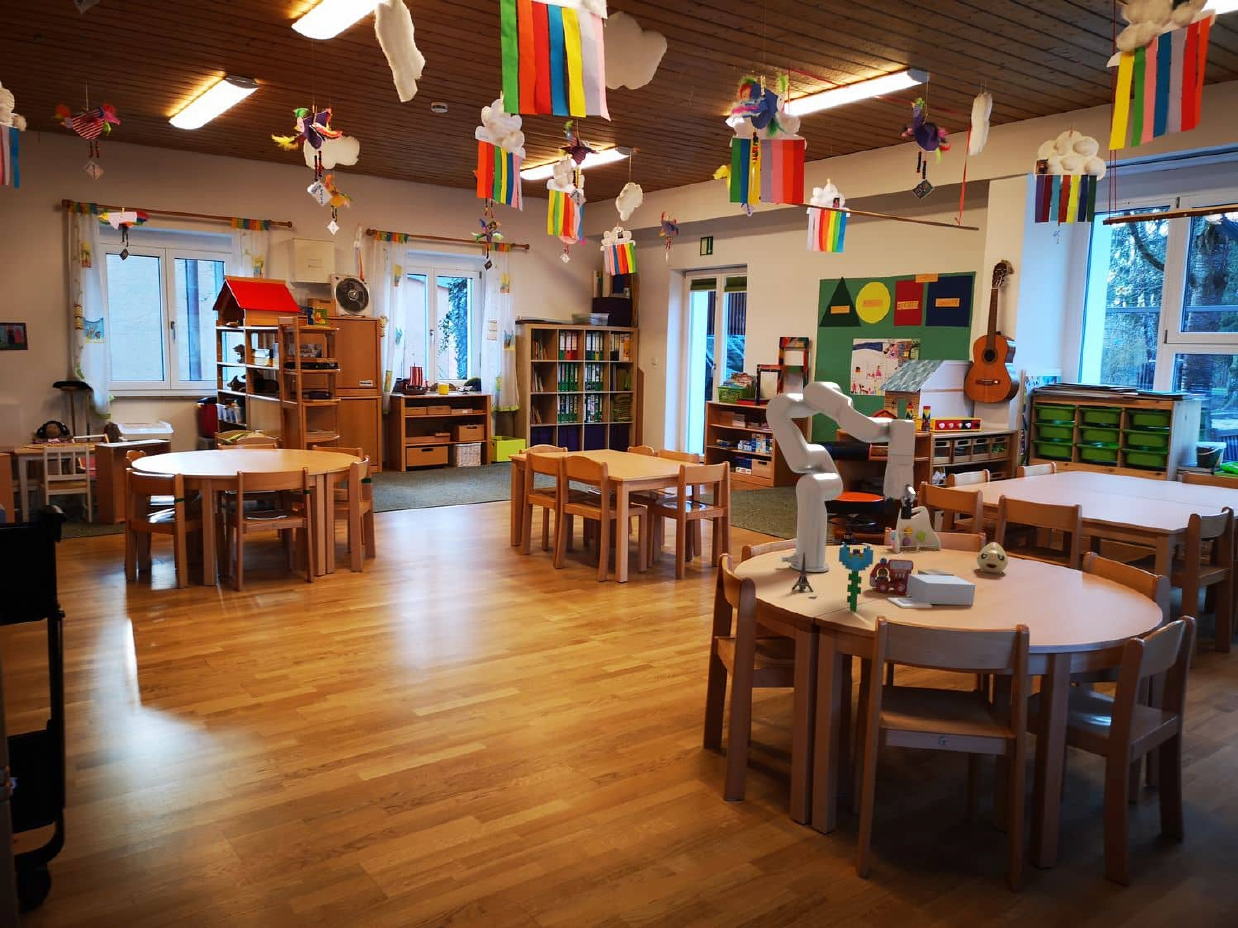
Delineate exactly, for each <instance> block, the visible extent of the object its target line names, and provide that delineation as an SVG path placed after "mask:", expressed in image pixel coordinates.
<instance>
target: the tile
mask: <svg viewBox="0 0 1238 928" xmlns="http://www.w3.org/2000/svg"><path fill="white" fill-rule="evenodd" d="M887 601H888V602H891V603H892V604H894V605H896V606H898V607H899V608H902V609H919V608H920V609H927V608H930V609H931V608H933V604H925V603H923V602H921V601H919V600H917V599H915V598H913V597H912V596H911V597H888V598H887Z"/></svg>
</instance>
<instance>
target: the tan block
mask: <svg viewBox="0 0 1238 928" xmlns="http://www.w3.org/2000/svg"><path fill="white" fill-rule="evenodd" d="M917 575H942V576H955V574H954V573H953V572H950V571H947V570H945V569H943V568H938V569H937V568H933V569H930V568H929V569H928V568H927V569H918V570H917Z"/></svg>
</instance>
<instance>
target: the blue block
mask: <svg viewBox="0 0 1238 928" xmlns="http://www.w3.org/2000/svg"><path fill="white" fill-rule="evenodd" d="M975 591H976V584H975V583H973V582H970V581H967V580H965V579H963V578H960V577H958V576H956V575H954V576H942V575H918V573H917V574H912V573H911V574H909V575H908V585H907V592H906V595H908V596H910V597H911V598H912V597H913V598H915V599H917V600H919V601H921V602H923V603H925V604H930V605H954V606H955V605H958V606H961V605H962V606H963V605H964V606H974V600H975Z"/></svg>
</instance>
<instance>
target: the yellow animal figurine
mask: <svg viewBox="0 0 1238 928" xmlns="http://www.w3.org/2000/svg"><path fill="white" fill-rule="evenodd" d="M976 563H977V565H978V567H979V568H980V571H981V572H986V573H989V572H991V574H999V573H1001V574H1002V572H1003V571H1004V570H1005V569H1006V568H1007V567H1008V565H1009V559H1008V555H1007V554H1006V551H1005V550H1004V548H1003V547H1002V546H1001V544H999V543H998V542H996V541H995V542H993V541H991V542H990V543H988V544H987V545H984V547H983V548H982V549H981V550H980V551H979V553H978V554H977V556H976Z"/></svg>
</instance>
